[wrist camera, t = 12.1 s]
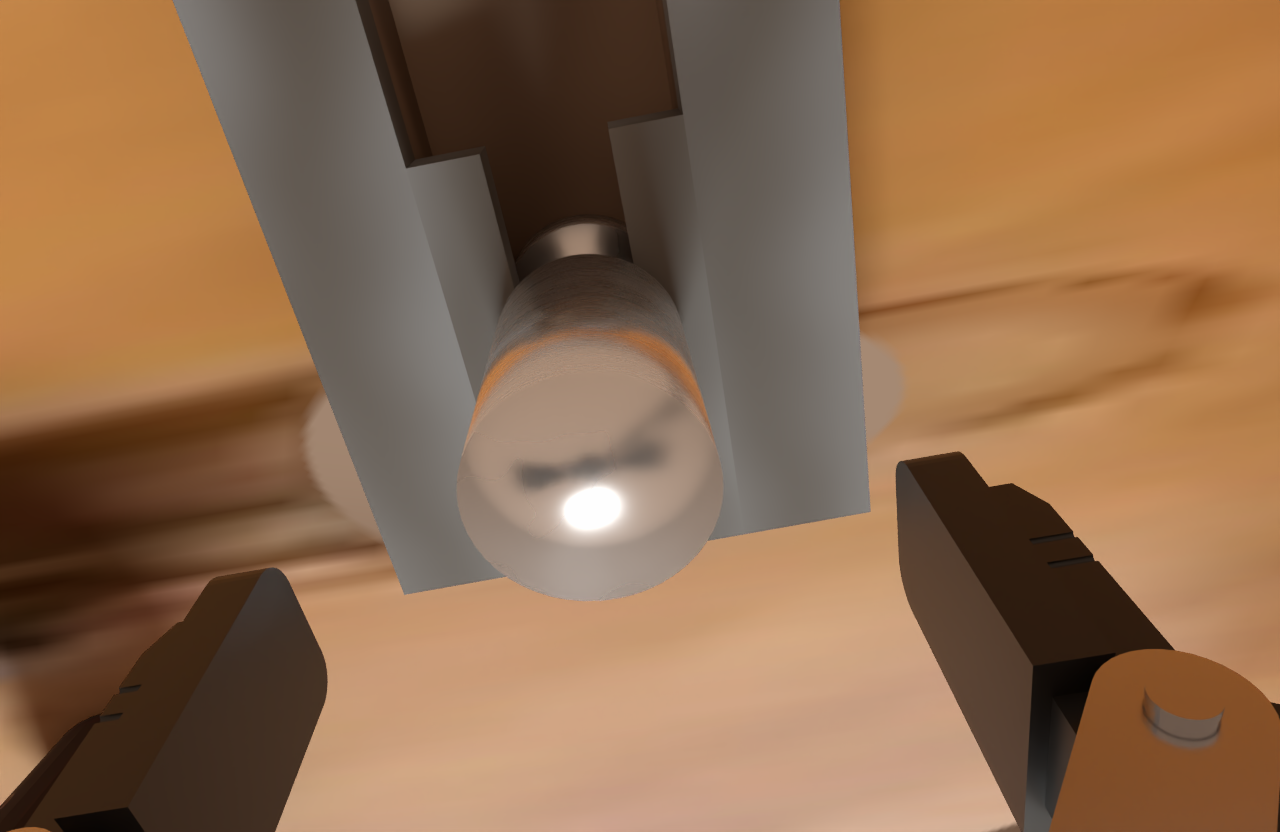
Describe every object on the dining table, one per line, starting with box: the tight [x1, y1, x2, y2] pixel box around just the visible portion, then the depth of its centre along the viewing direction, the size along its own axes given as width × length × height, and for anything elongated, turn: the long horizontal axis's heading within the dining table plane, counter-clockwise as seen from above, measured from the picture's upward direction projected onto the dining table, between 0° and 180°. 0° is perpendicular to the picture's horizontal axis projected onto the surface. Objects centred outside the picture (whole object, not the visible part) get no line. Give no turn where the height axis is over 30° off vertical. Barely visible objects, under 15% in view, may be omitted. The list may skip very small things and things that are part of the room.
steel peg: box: [456, 214, 724, 601], centre depth 17 cm, size 4×4×9 cm
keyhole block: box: [173, 0, 870, 595], centre depth 19 cm, size 12×18×4 cm, turn 10°
